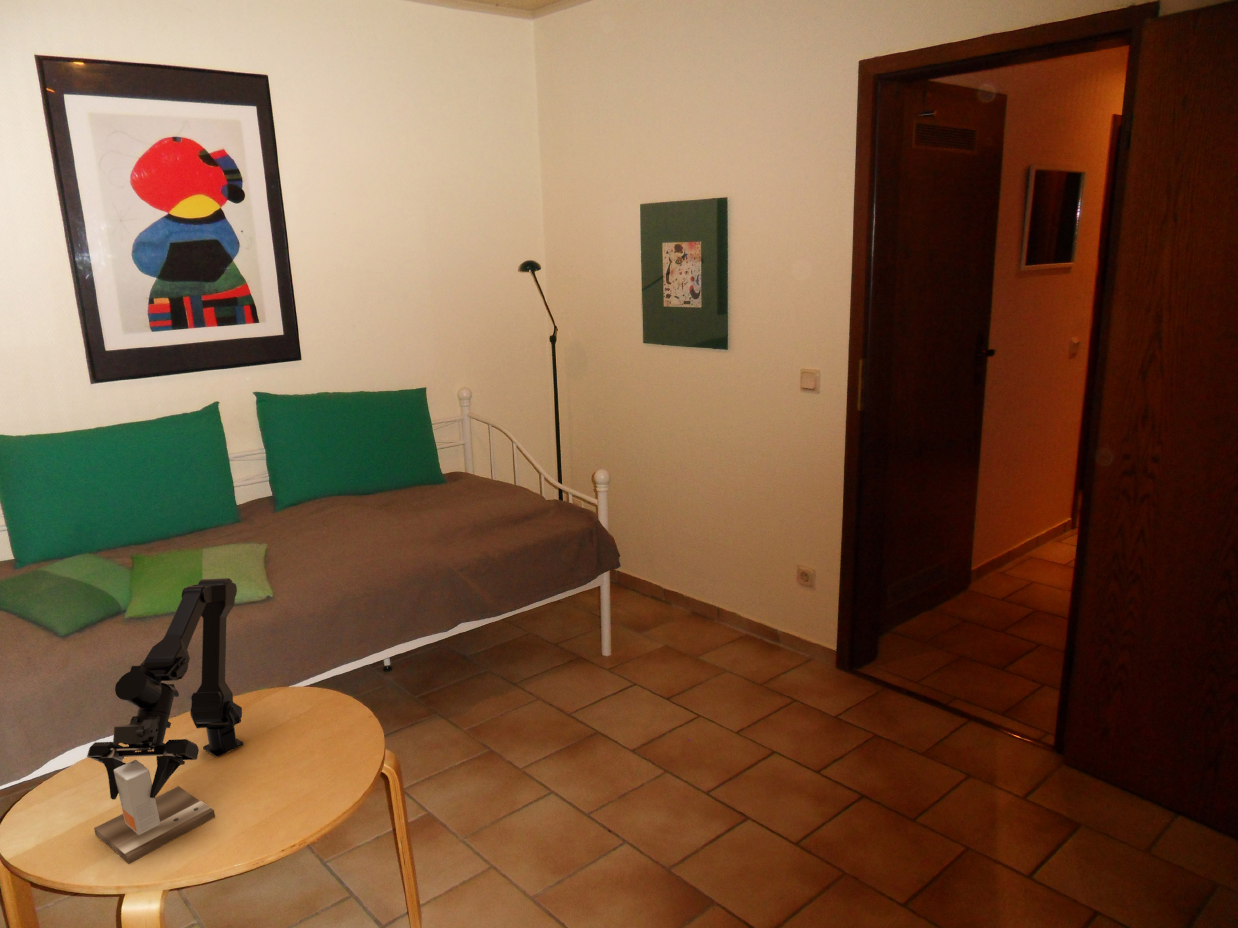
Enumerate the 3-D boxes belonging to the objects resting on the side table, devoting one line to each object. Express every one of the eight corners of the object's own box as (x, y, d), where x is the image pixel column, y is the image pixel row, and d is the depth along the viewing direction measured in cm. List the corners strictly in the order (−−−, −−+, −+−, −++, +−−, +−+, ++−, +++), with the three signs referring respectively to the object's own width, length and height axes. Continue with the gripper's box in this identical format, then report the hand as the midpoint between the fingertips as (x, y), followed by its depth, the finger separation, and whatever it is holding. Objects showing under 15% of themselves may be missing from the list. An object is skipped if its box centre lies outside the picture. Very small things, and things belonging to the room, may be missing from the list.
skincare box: (124, 824, 164) (112, 769, 161) (147, 812, 167) (136, 758, 164) (138, 836, 160) (126, 780, 157) (161, 824, 163) (150, 768, 160)
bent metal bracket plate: (95, 834, 167) (93, 826, 167) (179, 792, 180) (178, 784, 180) (129, 863, 159) (127, 855, 158) (215, 816, 171) (213, 809, 171)
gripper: (83, 705, 162) (57, 792, 154) (181, 701, 161) (161, 788, 153) (114, 720, 171) (92, 802, 163) (207, 716, 171) (189, 799, 163)
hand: (132, 798), depth 160 cm, fingers closed on skincare box, 7 cm apart
